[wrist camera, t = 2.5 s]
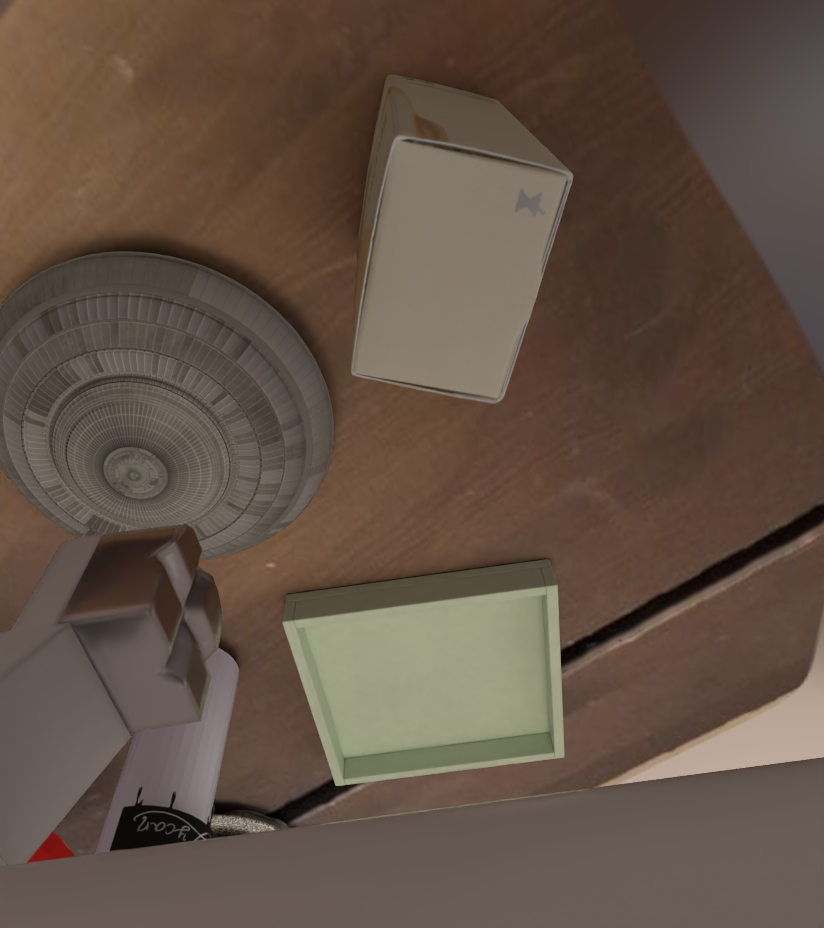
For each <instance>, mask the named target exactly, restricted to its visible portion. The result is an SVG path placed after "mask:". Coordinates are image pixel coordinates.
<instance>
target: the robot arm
mask: <svg viewBox="0 0 824 928" xmlns="http://www.w3.org/2000/svg"><path fill="white" fill-rule="evenodd" d="M201 552H202V548H201V546H200V543H199V541H198V538H197V536H196V534H195V531H194V529H193V528H191V527H190V526H188V525H187V524H180V525H172V526H164V527H156V528H148V529H140V530H132V531H124V532H116V533H109V534H100V535H93V536H86V537H80V538H73V539H70V540H67V541H65V542H63V543H61V545H60V546H59V548H58V550H57V551H56V553H55V555H54V556H53V558H52V560H51V562H50V563H49V565H48V567H47V568H46V570H45V572H44V574H43V575H42V577H41V579H40V580H39V582H38V584H37V586H36V587H35V589H34V591H33V592H32V594H31V596H30V598H29V599H28V601H27V603H26V604H25V606H24V608H23V610H22V611H21V613H20V615H19V616H18V618H17V620H16V622H15V623H14V625H13V627H12V628H11V630H10V631H6V632H0V928H824V758H816V759H809V760H801V761H793V762H785V763H778V764H770V765H763V766H755V767H749V768H740V769H733V770H725V771H718V772H710V773H702V774H695V775H687V776H680V777H673V778H664V779H657V780H649V781H642V782H634V783H627V784H619V785H612V786H604V787H596V788H589V789H581V790H574V791H566V792H559V793H551V794H544V795H536V796H528V797H521V798H513V799H506V800H498V801H491V802H483V803H476V804H468V805H460V806H453V807H445V808H438V809H430V810H423V811H415V812H408V813H400V814H392V815H385V816H377V817H370V818H362V819H355V820H347V821H340V822H332V823H325V824H317V825H309V826H302V827H294V828H287V829H279V830H272V831H264V832H257V833H249V834H241V835H234V836H226V837H219V838H211V839H204V840H196V841H189V842H181V843H173V844H166V845H158V846H151V847H143V848H136V849H128V850H121V851H113V852H105V853H98V854H90V855H83V856H75V857H68V858H60V859H53V860H45V861H38V862H30V863H27V861H28V860H29V859H30V858H31V857H32V855H33V854H34V853H35V852H36V851H37V849H38V848H39V847H40V846H41V845H42V843H43V842H44V841H45V840H46V839H47V837H48V836H49V835H50V834H51V833H52V831H53V830H54V829H55V828H56V827H57V825H58V824H59V823H60V822H61V820H62V819H63V818H64V817H65V816H66V814H67V813H68V812H69V811H70V810H71V808H72V807H73V806H74V805H75V804H76V802H77V801H78V800H79V799H80V798H81V796H82V795H83V794H84V793H85V792H86V790H87V789H88V788H89V787H90V786H91V784H92V783H93V782H94V781H95V780H96V778H97V777H98V776H99V775H100V774H101V772H102V771H103V770H104V769H105V768H106V766H107V765H108V764H109V763H110V762H111V760H112V759H113V758H114V757H115V756H116V754H117V753H118V752H119V751H120V750H121V748H122V747H123V746H124V745H125V744H126V742H127V741H128V740H129V739H130V738H131V735H130V733H133V732H139V731H145V730H151V729H158V728H164V727H170V726H176V725H182V724H188V723H194V722H200V721H201V718H202V714H203V709H204V705H205V701H206V697H207V693H208V689H209V685H210V680H211V675H210V672H209V670H208V668H207V665H206V663H205V661H206V660H207V659H208V658H209V657H210V656H211V655H212V654H213V653H214V652H215V651H216V650H217V649H218V646H219V641H220V637H221V632H222V609H221V604H220V599H219V594H218V590H217V587H216V585H215V582H214V579H213V577H212V576H211V575H209V574H208V573H207V572H205V571H204V570H202V569H201V568H199V567H198V563H199V559H200V556H201Z"/></svg>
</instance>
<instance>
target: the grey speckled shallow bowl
mask: <svg viewBox="0 0 824 928" xmlns="http://www.w3.org/2000/svg"><path fill="white" fill-rule="evenodd" d="M210 818H211V817H210ZM287 828H289V827H288V826H287V824H286V823H284V822H283V821H281V820H279V819H275V818H272V819H271V818H270V817H267V816H265V815H263V814H261V813H259V812H255V811H251V810H242V811H241V810H232V811H229V812H227V813H225V814H222V815H218V814H214V815H213V817H212V820H211V829H212V831H213V832H214V833H215V838H219V837H226V836H234V835H241V834H249V833H257V832H264V831H272V830H279V829H287ZM207 834H209V833H207ZM209 835H210V834H209ZM210 839H211V835H210Z"/></svg>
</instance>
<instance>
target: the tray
mask: <svg viewBox="0 0 824 928" xmlns="http://www.w3.org/2000/svg"><path fill="white" fill-rule="evenodd" d="M282 623H283V626H284V629H285V632H286V636H287V639H288V642H289V645H290V648H291V651H292V654H293V657H294V660H295V663H296V666H297V669H298V672H299V675H300V678H301V681H302V684H303V687H304V690H305V693H306V696H307V700H308V703H309V706H310V709H311V712H312V715H313V718H314V721H315V724H316V727H317V730H318V733H319V736H320V739H321V742H322V745H323V748H324V751H325V754H326V757H327V760H328V763H329V767H330V770H331V773H332V776H333V779H334V782H335V785H336V786H341V785H345V784H346V785H348V784H356V783H364V782H372V781H380V780H388V779H396V778H404V777H412V776H420V775H428V774H436V773H444V772H452V771H460V770H467V769H475V768H483V767H491V766H499V765H507V764H515V763H523V762H531V761H539V760H547V759H554V758H563V757H564V732H563V707H562V682H561V657H560V632H559V607H558V585H557V582H556V579H555V575H554V572H553V569H552V567H551V563H550V560H549V559H545V560H538V561H530V562H523V563H516V564H508V565H501V566H494V567H486V568H479V569H472V570H464V571H457V572H450V573H442V574H435V575H428V576H420V577H413V578H405V579H398V580H391V581H383V582H376V583H369V584H361V585H354V586H347V587H339V588H332V589H325V590H317V591H310V592H303V593H295V594H288V595H286V600H285V607H284V613H283V620H282Z"/></svg>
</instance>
